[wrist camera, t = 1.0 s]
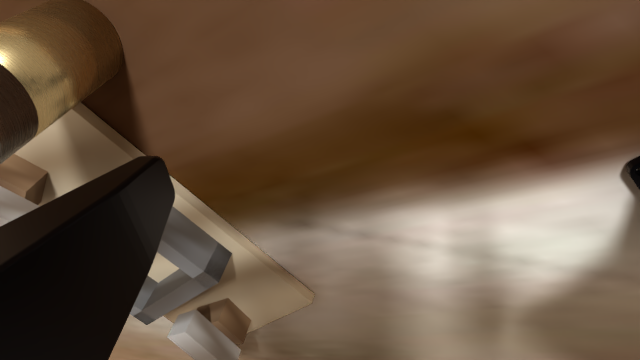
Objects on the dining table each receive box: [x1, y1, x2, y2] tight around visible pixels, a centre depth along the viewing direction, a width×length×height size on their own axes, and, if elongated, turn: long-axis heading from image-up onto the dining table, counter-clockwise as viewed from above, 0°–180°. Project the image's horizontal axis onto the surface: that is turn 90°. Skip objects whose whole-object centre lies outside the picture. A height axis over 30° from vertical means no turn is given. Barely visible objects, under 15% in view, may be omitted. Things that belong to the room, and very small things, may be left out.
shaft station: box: [0, 102, 315, 360], centre depth 30 cm, size 22×12×5 cm, turn 44°
